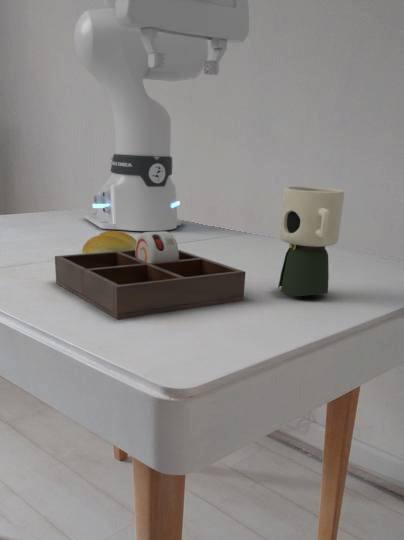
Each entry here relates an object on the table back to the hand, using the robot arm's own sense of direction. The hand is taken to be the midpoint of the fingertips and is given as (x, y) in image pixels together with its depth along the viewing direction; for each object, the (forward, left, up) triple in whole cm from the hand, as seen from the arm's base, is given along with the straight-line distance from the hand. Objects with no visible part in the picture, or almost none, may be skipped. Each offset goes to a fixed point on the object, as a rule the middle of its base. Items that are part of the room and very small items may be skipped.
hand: (184, 71), depth 81 cm
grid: (+16, -15, -27) cm, 35 cm away
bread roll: (-4, -10, -27) cm, 29 cm away
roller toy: (+12, -11, -26) cm, 31 cm away
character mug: (+26, +2, -27) cm, 38 cm away
